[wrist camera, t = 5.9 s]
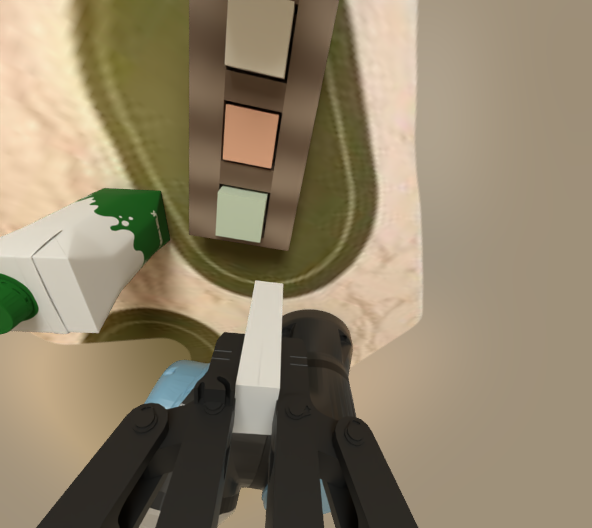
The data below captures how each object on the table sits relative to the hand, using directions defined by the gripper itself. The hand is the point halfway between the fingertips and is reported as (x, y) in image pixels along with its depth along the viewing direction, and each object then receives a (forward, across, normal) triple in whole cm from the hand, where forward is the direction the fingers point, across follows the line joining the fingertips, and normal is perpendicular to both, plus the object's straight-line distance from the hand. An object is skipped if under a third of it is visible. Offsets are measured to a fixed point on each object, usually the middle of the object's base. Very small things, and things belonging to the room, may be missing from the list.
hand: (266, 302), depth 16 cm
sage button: (+20, +4, +2) cm, 21 cm away
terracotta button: (+21, +4, -7) cm, 23 cm away
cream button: (+20, +3, -14) cm, 25 cm away
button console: (+23, +4, -7) cm, 24 cm away
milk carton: (+24, +18, +6) cm, 31 cm away
